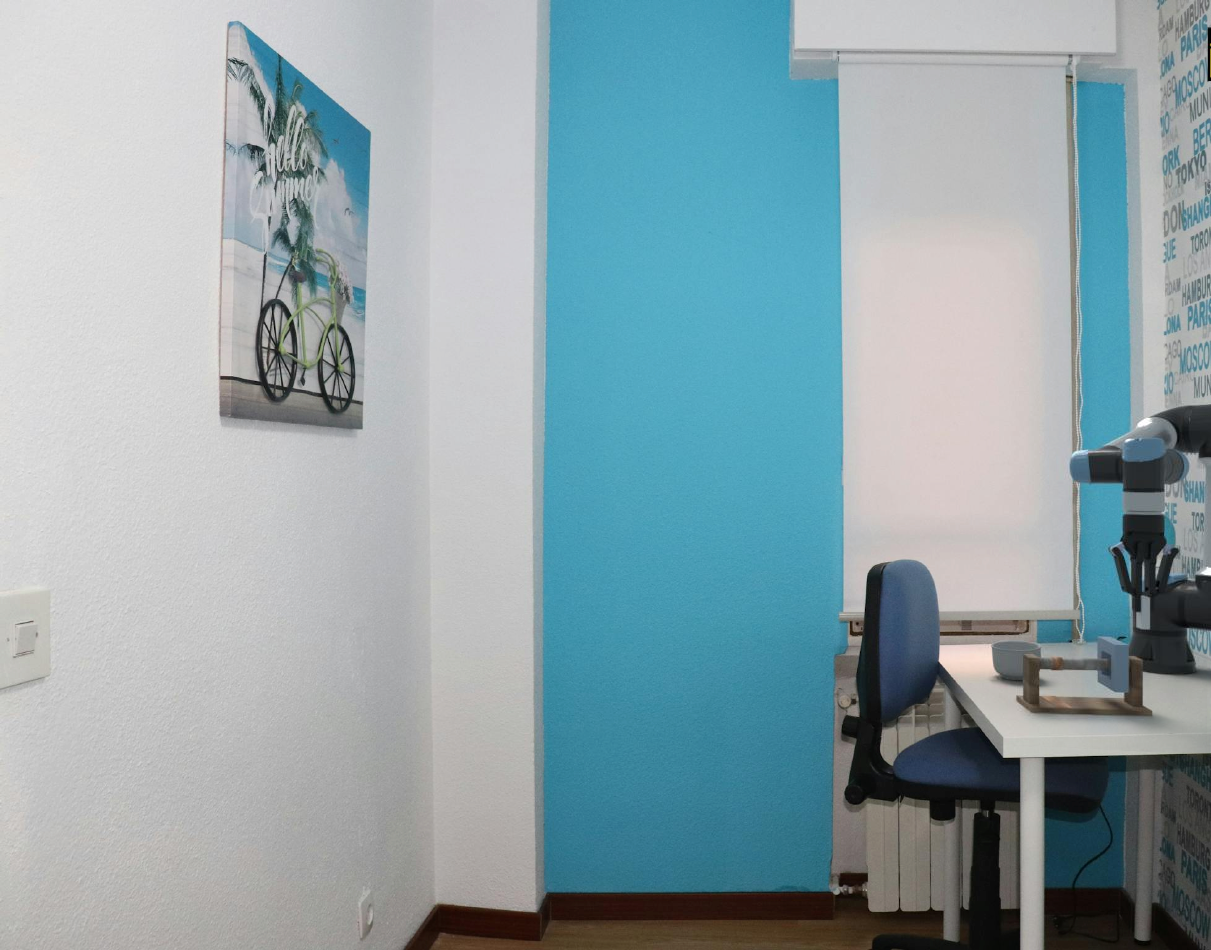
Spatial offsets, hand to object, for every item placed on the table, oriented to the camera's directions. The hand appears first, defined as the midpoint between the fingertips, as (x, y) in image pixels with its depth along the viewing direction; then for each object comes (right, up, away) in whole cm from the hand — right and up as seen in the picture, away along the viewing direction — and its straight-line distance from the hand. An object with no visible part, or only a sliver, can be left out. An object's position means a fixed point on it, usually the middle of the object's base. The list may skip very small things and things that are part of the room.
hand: (1143, 628), depth 191 cm
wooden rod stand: (-12, -17, +2) cm, 20 cm away
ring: (-6, -12, +1) cm, 14 cm away
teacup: (-13, -17, +31) cm, 37 cm away
